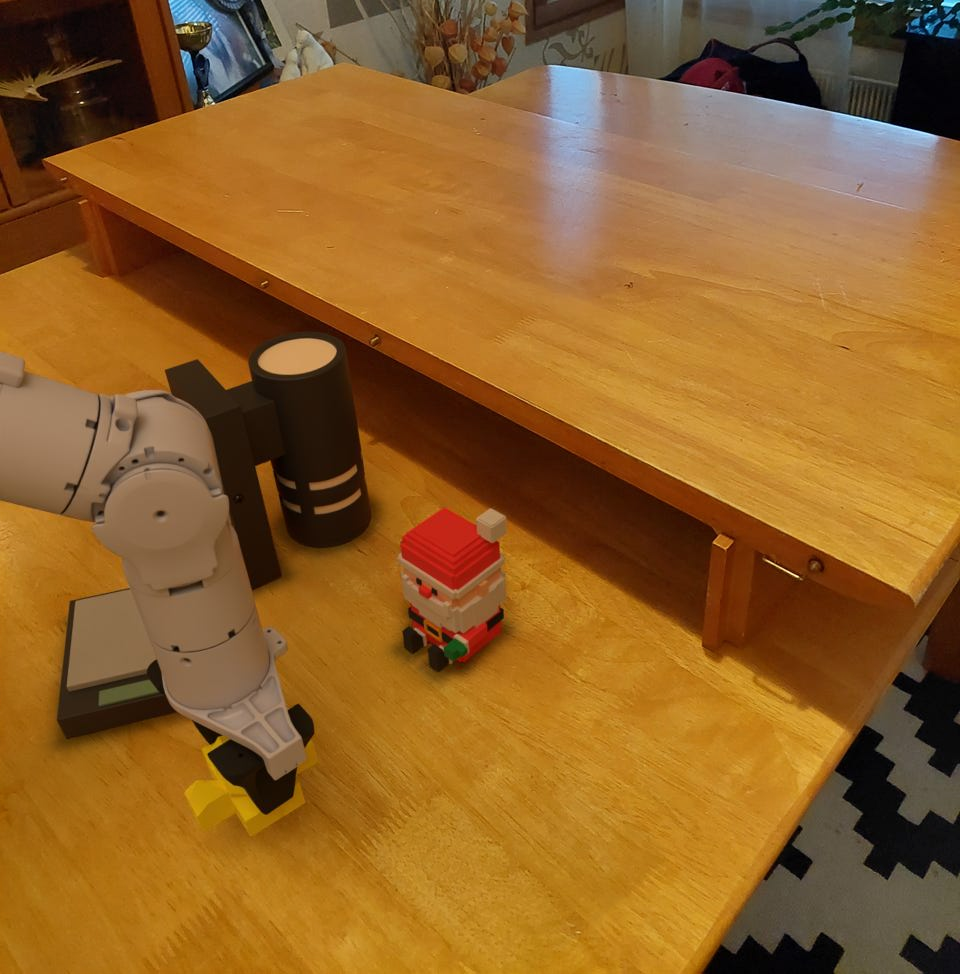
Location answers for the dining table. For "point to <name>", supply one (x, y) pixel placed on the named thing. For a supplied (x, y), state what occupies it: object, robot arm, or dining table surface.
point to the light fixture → (285, 444)
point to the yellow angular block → (237, 797)
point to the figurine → (453, 584)
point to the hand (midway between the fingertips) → (250, 768)
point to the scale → (106, 667)
